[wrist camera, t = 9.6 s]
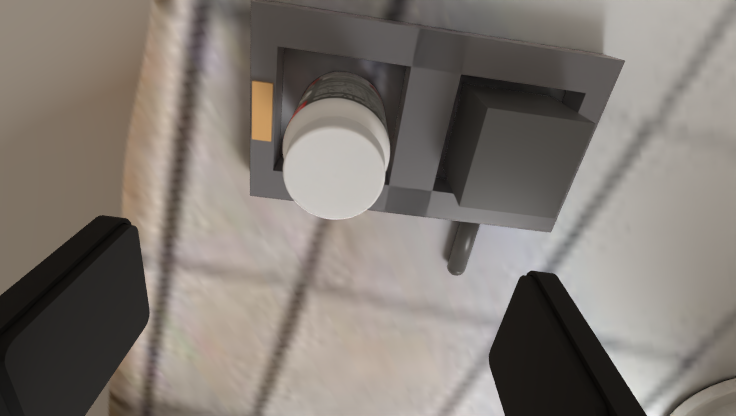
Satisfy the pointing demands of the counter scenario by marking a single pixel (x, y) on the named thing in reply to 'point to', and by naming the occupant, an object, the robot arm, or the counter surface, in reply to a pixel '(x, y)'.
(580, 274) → the counter surface
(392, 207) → the two-compartment grey tray
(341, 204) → the pill bottle
